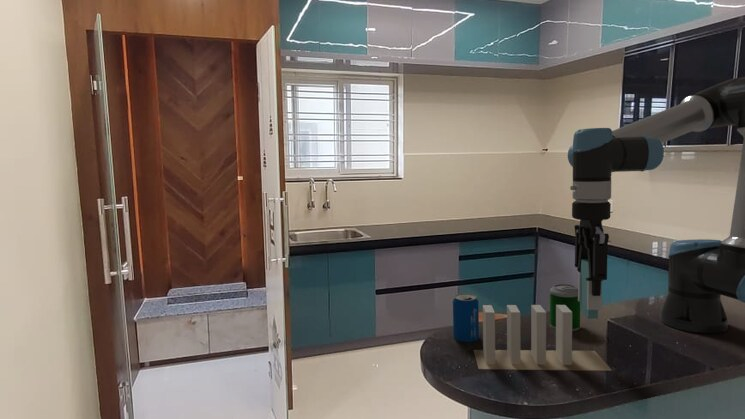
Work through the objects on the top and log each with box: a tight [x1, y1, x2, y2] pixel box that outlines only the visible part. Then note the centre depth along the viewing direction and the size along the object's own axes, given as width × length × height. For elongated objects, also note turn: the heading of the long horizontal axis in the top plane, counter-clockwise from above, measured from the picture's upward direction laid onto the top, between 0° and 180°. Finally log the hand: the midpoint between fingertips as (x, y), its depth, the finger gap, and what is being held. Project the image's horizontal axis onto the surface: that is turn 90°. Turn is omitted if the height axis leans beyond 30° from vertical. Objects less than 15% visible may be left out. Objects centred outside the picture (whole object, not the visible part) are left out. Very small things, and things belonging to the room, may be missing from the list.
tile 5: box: [482, 304, 496, 364], centre depth 104 cm, size 2×5×12 cm, turn 174°
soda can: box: [549, 283, 581, 332], centre depth 122 cm, size 8×8×12 cm
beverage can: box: [452, 292, 480, 343], centre depth 117 cm, size 6×6×12 cm
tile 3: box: [530, 304, 547, 365], centre depth 103 cm, size 2×5×12 cm, turn 174°
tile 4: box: [506, 304, 521, 364], centre depth 103 cm, size 2×5×12 cm, turn 174°
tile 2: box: [555, 305, 573, 365], centre depth 102 cm, size 2×5×12 cm, turn 174°
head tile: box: [580, 259, 599, 320], centre depth 100 cm, size 2×5×12 cm, turn 174°
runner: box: [473, 349, 613, 372], centre depth 103 cm, size 28×10×1 cm, turn 84°
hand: (589, 304), depth 100 cm, fingers closed on head tile, 5 cm apart
